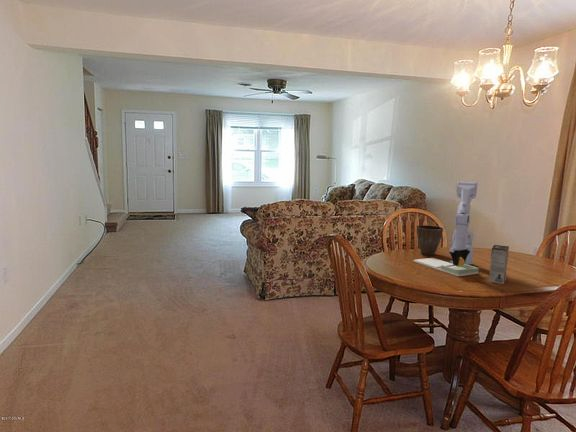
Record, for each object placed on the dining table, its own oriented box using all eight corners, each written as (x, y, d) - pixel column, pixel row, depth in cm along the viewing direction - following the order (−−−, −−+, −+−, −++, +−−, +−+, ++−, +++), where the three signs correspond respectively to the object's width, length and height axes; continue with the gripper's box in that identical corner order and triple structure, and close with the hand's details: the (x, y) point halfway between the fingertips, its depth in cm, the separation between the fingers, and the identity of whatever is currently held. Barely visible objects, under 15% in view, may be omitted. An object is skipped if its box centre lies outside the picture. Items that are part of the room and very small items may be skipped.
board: (432, 259, 222) (433, 254, 222) (478, 273, 196) (478, 268, 195) (413, 261, 217) (413, 256, 216) (457, 276, 190) (458, 270, 189)
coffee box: (490, 277, 189) (493, 244, 187) (505, 279, 186) (509, 246, 184) (488, 282, 182) (491, 247, 180) (504, 284, 178) (507, 249, 176)
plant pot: (434, 251, 244) (436, 225, 242) (445, 256, 230) (447, 229, 227) (411, 250, 244) (412, 225, 241) (420, 256, 229) (422, 229, 227)
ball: (456, 264, 201) (457, 255, 200) (466, 267, 197) (466, 257, 196) (450, 266, 198) (451, 256, 198) (460, 268, 194) (460, 258, 193)
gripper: (462, 235, 203) (460, 261, 205) (444, 237, 195) (442, 264, 197) (475, 237, 197) (472, 264, 199) (457, 240, 189) (455, 268, 191)
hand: (458, 264), depth 197 cm, fingers closed on ball, 5 cm apart
